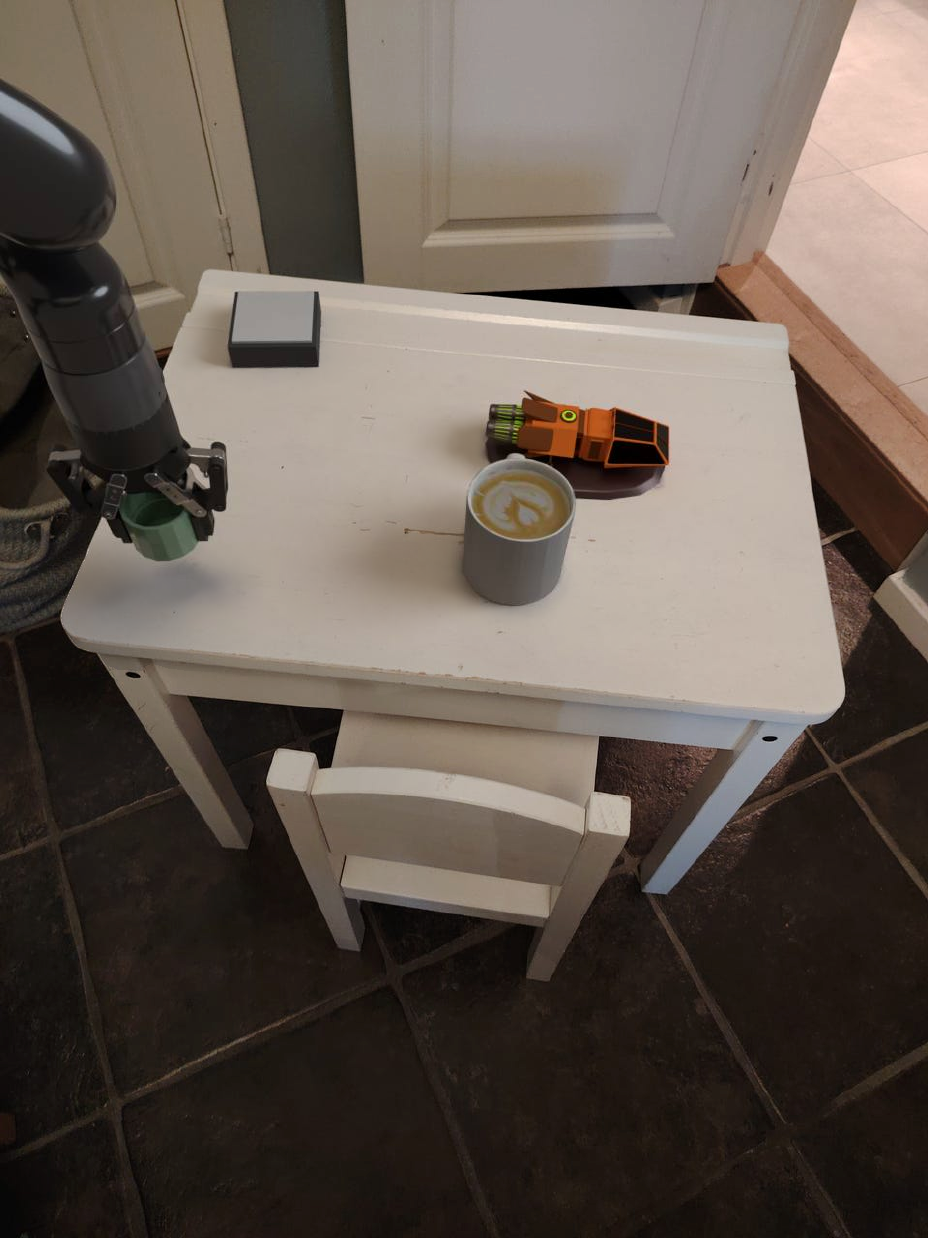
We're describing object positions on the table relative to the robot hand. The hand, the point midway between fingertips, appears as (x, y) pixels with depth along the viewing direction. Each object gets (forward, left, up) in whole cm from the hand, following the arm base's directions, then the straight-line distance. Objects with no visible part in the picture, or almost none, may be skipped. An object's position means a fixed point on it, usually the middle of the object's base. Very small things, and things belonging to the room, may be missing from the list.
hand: (167, 534), depth 75 cm
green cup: (0, 0, -1) cm, 1 cm away
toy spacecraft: (+40, +16, -7) cm, 44 cm away
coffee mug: (+32, +3, -7) cm, 33 cm away
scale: (+7, +35, -7) cm, 37 cm away
